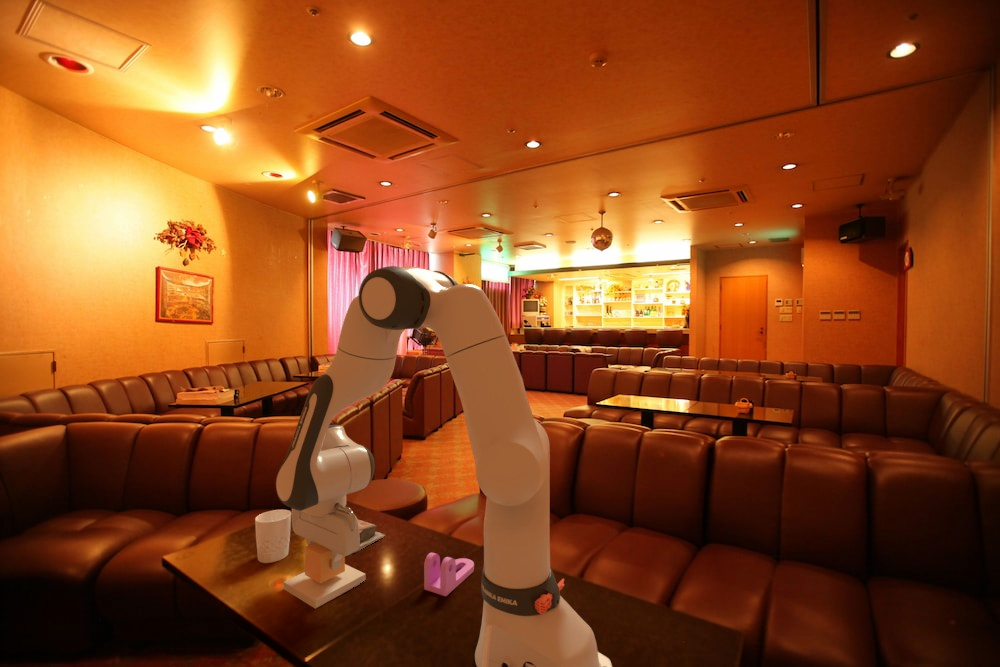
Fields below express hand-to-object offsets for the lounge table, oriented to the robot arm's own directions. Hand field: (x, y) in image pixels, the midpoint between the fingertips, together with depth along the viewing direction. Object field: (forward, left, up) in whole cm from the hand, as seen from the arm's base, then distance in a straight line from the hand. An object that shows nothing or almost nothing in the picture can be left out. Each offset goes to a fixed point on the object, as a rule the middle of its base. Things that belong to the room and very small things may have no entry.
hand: (325, 563), depth 94 cm
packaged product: (+16, -17, -5) cm, 24 cm away
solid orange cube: (0, 0, -2) cm, 2 cm away
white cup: (+22, 0, -5) cm, 23 cm away
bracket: (-21, -18, -5) cm, 28 cm away
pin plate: (0, 0, -5) cm, 5 cm away
